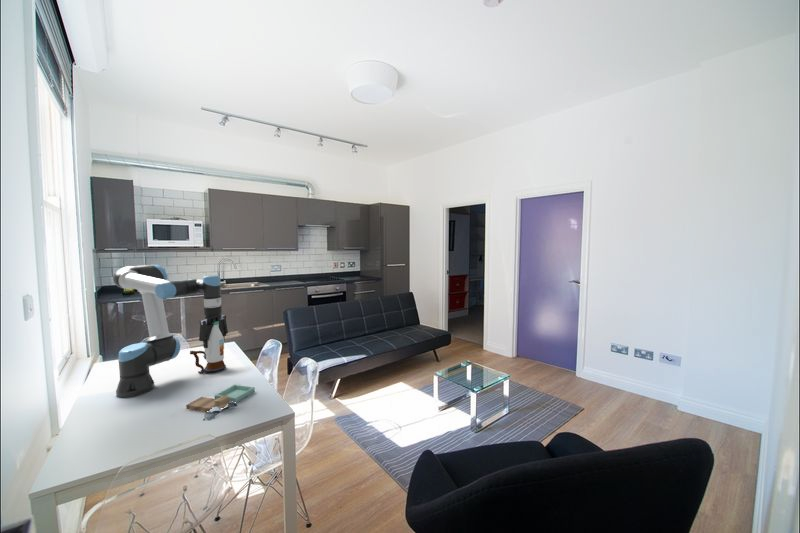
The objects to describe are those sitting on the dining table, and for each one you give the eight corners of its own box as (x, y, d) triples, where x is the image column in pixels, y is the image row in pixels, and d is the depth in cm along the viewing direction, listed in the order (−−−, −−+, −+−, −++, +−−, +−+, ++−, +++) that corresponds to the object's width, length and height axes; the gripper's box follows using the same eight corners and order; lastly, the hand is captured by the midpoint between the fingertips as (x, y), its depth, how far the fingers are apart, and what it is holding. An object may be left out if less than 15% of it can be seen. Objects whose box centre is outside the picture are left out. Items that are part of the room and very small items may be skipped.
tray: (214, 400, 152) (214, 395, 152) (234, 389, 164) (234, 384, 164) (235, 403, 149) (235, 398, 149) (254, 392, 161) (254, 387, 161)
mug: (192, 378, 177) (190, 352, 176) (189, 372, 186) (188, 347, 185) (228, 370, 189) (227, 346, 188) (224, 365, 197) (223, 341, 197)
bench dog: (214, 411, 142) (214, 400, 142) (223, 406, 147) (223, 395, 146) (220, 412, 141) (219, 401, 141) (229, 406, 146) (228, 396, 146)
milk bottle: (215, 363, 155) (214, 323, 154) (202, 362, 157) (200, 322, 156) (227, 358, 163) (225, 319, 162) (214, 357, 164) (212, 319, 163)
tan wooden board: (186, 410, 144) (186, 404, 144) (201, 401, 152) (201, 396, 152) (211, 414, 140) (211, 408, 140) (225, 405, 148) (225, 400, 148)
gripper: (200, 310, 147) (202, 358, 149) (234, 303, 167) (236, 345, 168) (188, 310, 149) (190, 357, 151) (223, 302, 169) (225, 344, 170)
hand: (214, 351), depth 160 cm, fingers closed on milk bottle, 8 cm apart
